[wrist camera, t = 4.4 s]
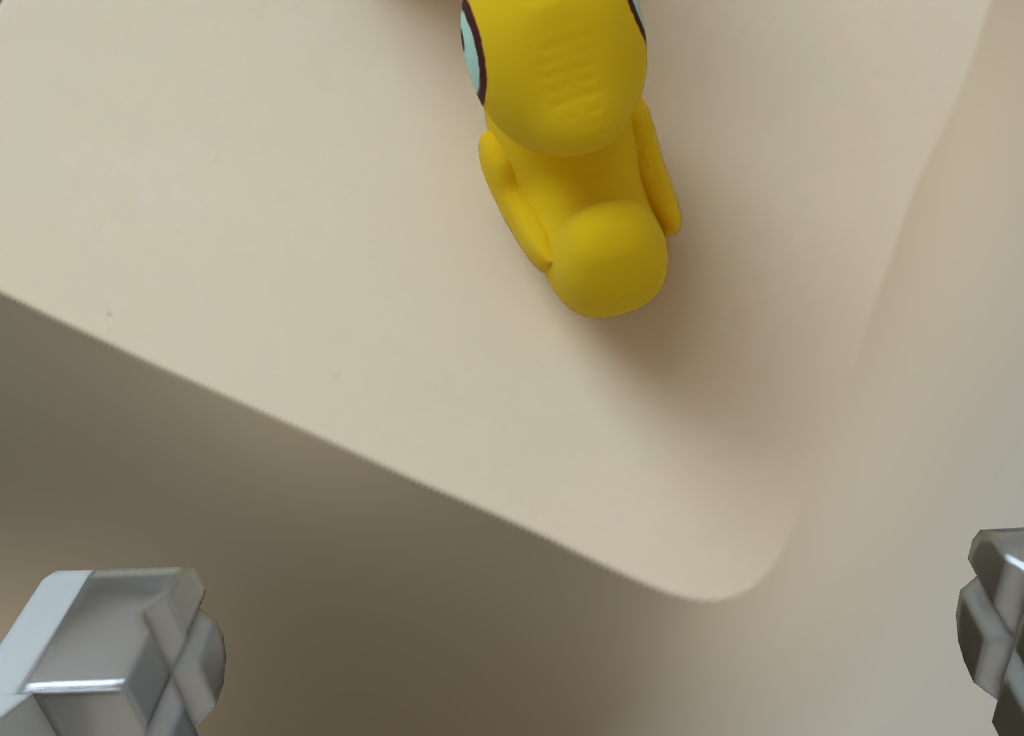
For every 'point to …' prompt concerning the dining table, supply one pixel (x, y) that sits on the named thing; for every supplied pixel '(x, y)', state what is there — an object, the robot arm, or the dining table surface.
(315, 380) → the dining table surface
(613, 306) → the duckling
